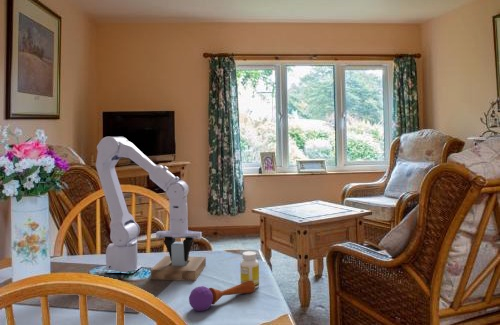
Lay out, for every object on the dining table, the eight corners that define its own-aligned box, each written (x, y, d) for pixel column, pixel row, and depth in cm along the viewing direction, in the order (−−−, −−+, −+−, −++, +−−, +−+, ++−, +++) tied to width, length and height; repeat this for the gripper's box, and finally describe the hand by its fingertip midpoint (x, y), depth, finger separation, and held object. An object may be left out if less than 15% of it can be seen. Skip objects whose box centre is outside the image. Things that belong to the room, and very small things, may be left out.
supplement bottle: (258, 282, 118) (258, 250, 117) (259, 289, 113) (259, 255, 112) (240, 283, 118) (240, 250, 117) (240, 290, 112) (240, 256, 112)
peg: (171, 269, 126) (171, 244, 125) (175, 265, 130) (175, 241, 129) (184, 269, 125) (183, 245, 125) (187, 265, 129) (186, 241, 129)
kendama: (259, 281, 109) (199, 295, 95) (256, 301, 109) (195, 318, 96) (246, 272, 113) (186, 284, 100) (242, 291, 114) (183, 306, 101)
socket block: (151, 279, 122) (150, 269, 121) (165, 264, 135) (165, 255, 135) (195, 280, 120) (195, 270, 120) (205, 265, 134) (205, 256, 134)
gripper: (152, 220, 123) (153, 263, 124) (197, 221, 122) (198, 264, 123) (159, 216, 130) (160, 256, 131) (202, 217, 129) (203, 257, 130)
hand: (179, 260), depth 127 cm, fingers closed on peg, 4 cm apart
